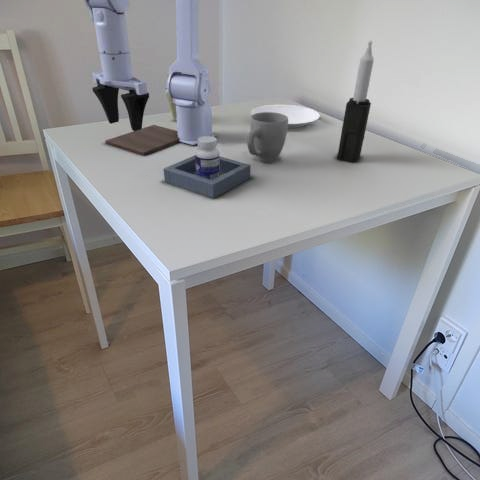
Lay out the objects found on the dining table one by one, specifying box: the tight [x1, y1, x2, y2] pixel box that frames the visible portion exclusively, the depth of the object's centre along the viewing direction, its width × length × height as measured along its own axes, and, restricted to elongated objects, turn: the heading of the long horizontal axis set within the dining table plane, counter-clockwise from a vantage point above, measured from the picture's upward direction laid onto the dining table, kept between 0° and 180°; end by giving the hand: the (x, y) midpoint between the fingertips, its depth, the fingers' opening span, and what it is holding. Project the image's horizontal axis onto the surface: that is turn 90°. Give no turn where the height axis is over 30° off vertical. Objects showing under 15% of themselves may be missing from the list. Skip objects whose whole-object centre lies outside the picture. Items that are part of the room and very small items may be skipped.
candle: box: [336, 40, 375, 163], centre depth 99 cm, size 5×5×25 cm
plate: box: [250, 103, 320, 129], centre depth 130 cm, size 21×21×2 cm
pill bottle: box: [194, 136, 221, 180], centre depth 92 cm, size 5×5×9 cm
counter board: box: [104, 124, 180, 156], centre depth 114 cm, size 18×14×1 cm
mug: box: [246, 112, 289, 163], centre depth 102 cm, size 12×9×10 cm
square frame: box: [163, 154, 252, 199], centre depth 94 cm, size 14×14×3 cm
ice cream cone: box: [163, 63, 177, 122], centre depth 124 cm, size 5×5×15 cm
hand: (125, 126), depth 91 cm, fingers open, 7 cm apart
